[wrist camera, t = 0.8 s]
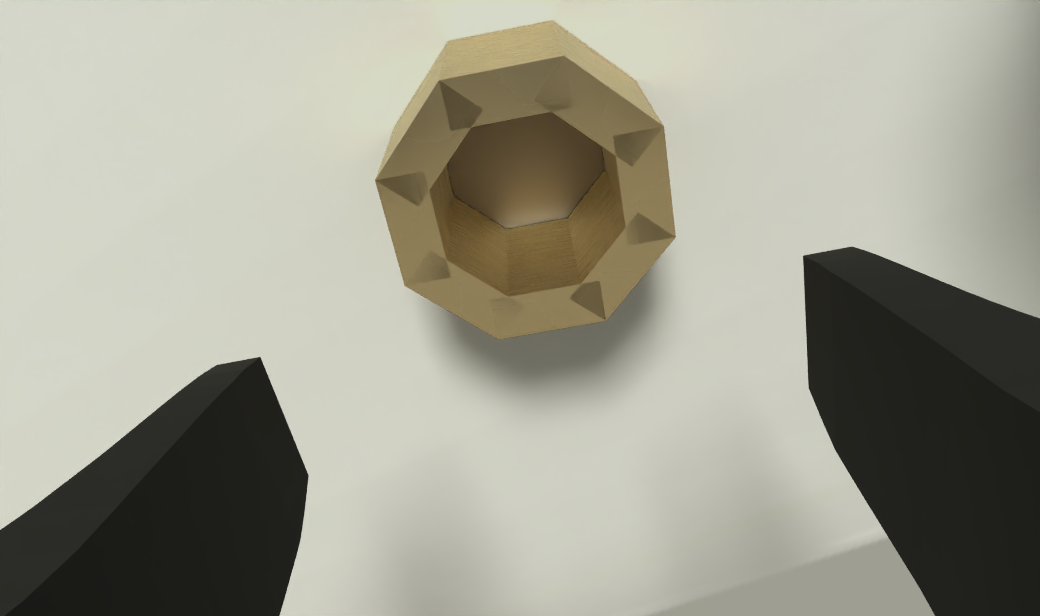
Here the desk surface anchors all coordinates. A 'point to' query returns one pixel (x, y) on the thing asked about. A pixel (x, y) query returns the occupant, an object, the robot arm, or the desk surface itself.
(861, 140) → the desk surface
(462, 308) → the wooden ring
